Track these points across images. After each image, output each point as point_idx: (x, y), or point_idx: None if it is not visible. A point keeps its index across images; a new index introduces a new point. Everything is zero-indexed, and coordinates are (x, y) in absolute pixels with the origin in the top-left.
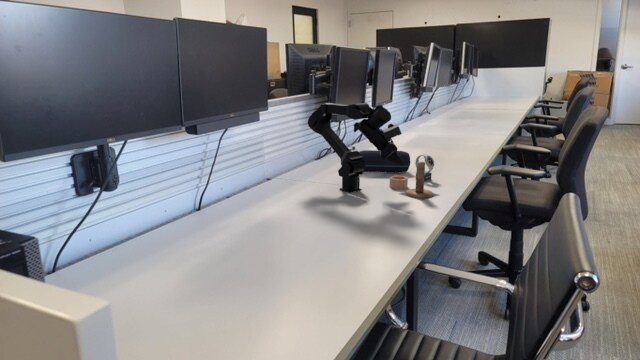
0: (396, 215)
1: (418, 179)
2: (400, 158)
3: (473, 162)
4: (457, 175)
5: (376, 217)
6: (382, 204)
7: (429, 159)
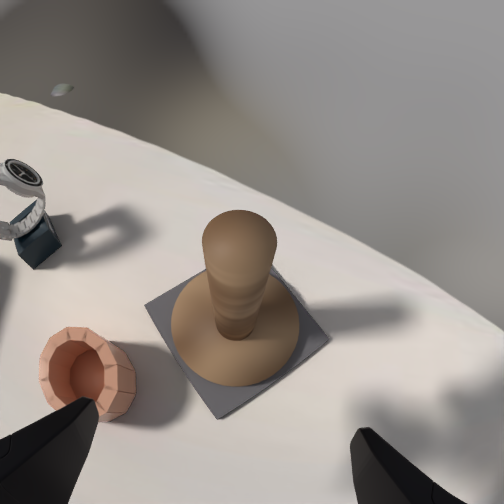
0: (460, 436)
1: (257, 312)
2: (92, 401)
3: (11, 114)
4: (54, 145)
5: (466, 487)
6: None
7: (16, 171)
